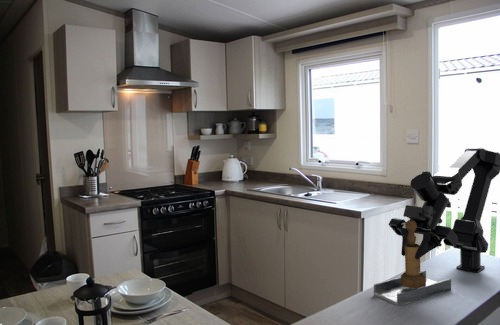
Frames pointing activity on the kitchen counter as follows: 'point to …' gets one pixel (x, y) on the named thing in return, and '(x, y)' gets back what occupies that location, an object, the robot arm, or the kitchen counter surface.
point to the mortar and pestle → (412, 260)
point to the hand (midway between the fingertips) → (409, 256)
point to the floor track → (409, 290)
